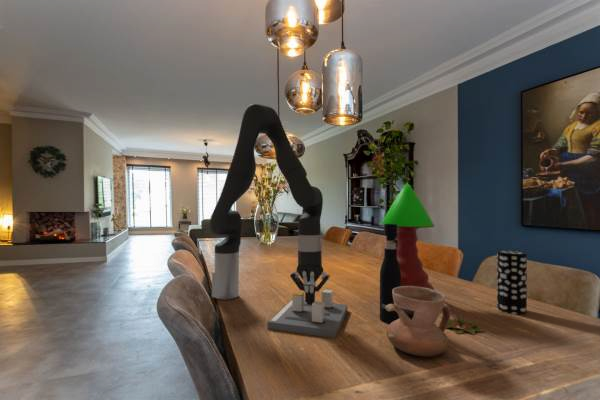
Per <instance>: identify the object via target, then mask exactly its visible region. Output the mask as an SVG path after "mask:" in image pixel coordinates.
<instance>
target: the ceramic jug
mask: <svg viewBox="0 0 600 400" xmlns="http://www.w3.org/2000/svg"><path fill="white" fill-rule="evenodd" d="M392 295H393V301H394V304H388V305H386V306H385V308H386V310H387V311H396V312H397V313H398V315H399V317H400V318H399V319H397V320H395V321H393V322H392V323H391V324H389V325H388V326H387V328H386V335H387V338H388V341H389V342H390V344H391V345H392V346H393V347H394V348H396V349H398V350H399V351H401V352H404V353H406V354H409V355H411V356H416V357H425V358H426V357H429V358H430V357H435V356H436V357H437V356H440V355H441V354H443V353H445V351H447V349H448V347H449V338H448V336H447V335H446V333H445V331H446V330H447V328H446V327H447V325H448V323H449V320H450V319H451V314H452V313H451V307H450V306H449V305H448V304H447V303H446V302H445V299H446V298H445V295H444V294H443V293H442V292H440V291H438V290H436V289H434V290H432V289H429V288H423V287H415V286H400V287H396V288H394V289H393V290H392ZM441 312H442V317H441V320H440V321H441V322H439V325H438V326H437V324H436V322H437V320H438V319H439V316H440V314H441Z"/></svg>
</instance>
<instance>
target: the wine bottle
mask: <svg viewBox="0 0 600 400" xmlns="http://www.w3.org/2000/svg"><path fill="white" fill-rule="evenodd" d="M383 230H384V232H383V233H384V235H385V236H386V237H385V238H386V240H385V241H386V242H385V244H384V247H385V248H384V249H383V250H384V251H383V253H384V254H383V255H384V256H383V260H382V263H381V267H380V271H379V320H380V321H381V322H383V323H385V324H389V325H390V324H391V323H392V322H393V321H395V320H397V319H399V318H400V317H399V315H398V313H397V312H396V311H387V310H386V308H385V306H386V305H388V304H394V301H393V295H392V290H393V289H394V288H396V287H400V286H401V270H400V266H399V263H398V260H397V249H396V248H397V243H396V242H395V241H396V237H395V236H397V234H398V229H397V224H384V226H383Z"/></svg>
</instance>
